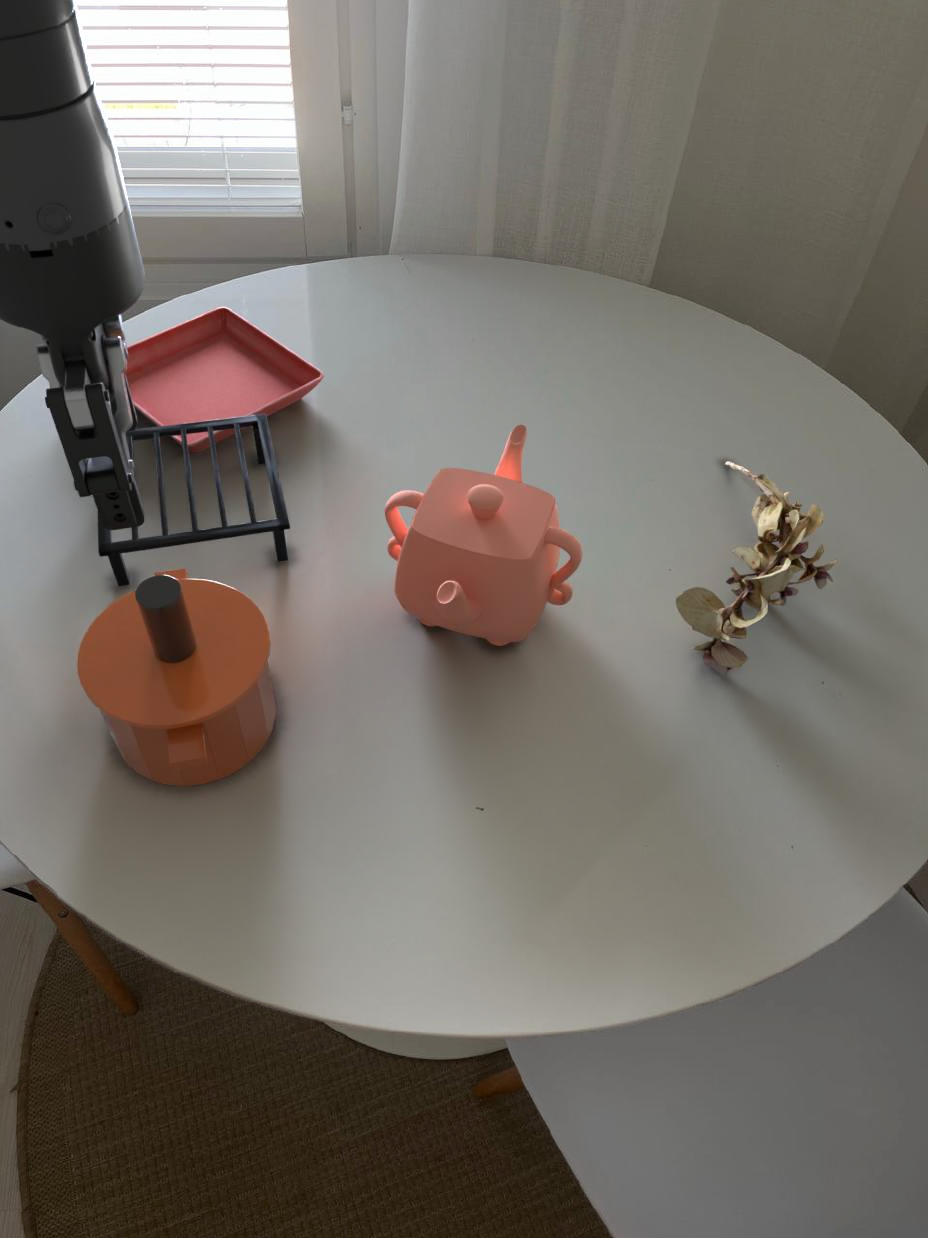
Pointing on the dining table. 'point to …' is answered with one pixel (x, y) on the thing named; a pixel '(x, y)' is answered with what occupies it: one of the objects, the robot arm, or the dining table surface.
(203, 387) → the plant saucer
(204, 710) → the lid
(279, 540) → the rack
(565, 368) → the dining table surface
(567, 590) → the teapot
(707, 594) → the artificial flower
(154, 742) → the pot
